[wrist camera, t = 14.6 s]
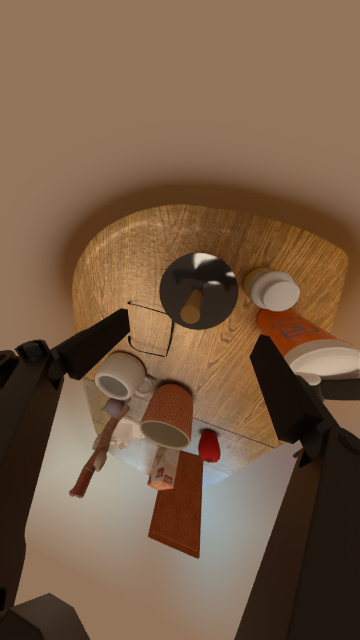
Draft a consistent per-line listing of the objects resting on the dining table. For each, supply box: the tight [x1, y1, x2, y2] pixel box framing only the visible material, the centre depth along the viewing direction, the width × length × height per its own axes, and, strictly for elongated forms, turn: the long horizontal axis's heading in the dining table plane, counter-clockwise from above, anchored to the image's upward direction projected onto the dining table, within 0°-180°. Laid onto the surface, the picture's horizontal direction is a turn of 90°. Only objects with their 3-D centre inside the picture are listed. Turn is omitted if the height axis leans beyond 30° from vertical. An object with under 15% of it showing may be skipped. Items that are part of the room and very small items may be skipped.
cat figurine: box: [101, 397, 131, 419], centre depth 55 cm, size 8×8×12 cm
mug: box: [95, 353, 153, 400], centre depth 49 cm, size 21×17×10 cm
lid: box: [159, 253, 238, 330], centre depth 21 cm, size 14×14×9 cm
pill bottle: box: [243, 267, 300, 311], centre depth 24 cm, size 6×6×12 cm
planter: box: [139, 384, 193, 449], centre depth 48 cm, size 17×17×15 cm
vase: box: [69, 404, 129, 498], centre depth 57 cm, size 10×7×30 cm
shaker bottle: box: [257, 308, 360, 403], centre depth 24 cm, size 9×9×20 cm
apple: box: [198, 430, 221, 463], centre depth 59 cm, size 10×10×11 cm
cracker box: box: [148, 445, 180, 490], centre depth 59 cm, size 14×6×21 cm, turn 150°
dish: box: [109, 416, 145, 449], centre depth 76 cm, size 25×25×11 cm
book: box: [148, 451, 203, 559], centre depth 70 cm, size 23×8×30 cm, turn 91°
